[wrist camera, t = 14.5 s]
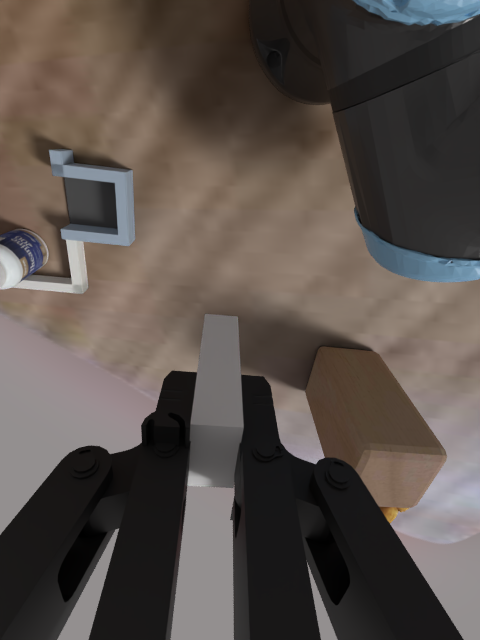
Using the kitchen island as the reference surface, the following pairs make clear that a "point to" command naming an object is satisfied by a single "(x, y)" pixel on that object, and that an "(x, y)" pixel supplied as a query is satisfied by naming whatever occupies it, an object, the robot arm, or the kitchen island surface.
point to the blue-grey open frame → (124, 199)
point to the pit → (91, 202)
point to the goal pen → (61, 284)
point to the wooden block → (372, 425)
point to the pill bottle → (20, 256)
